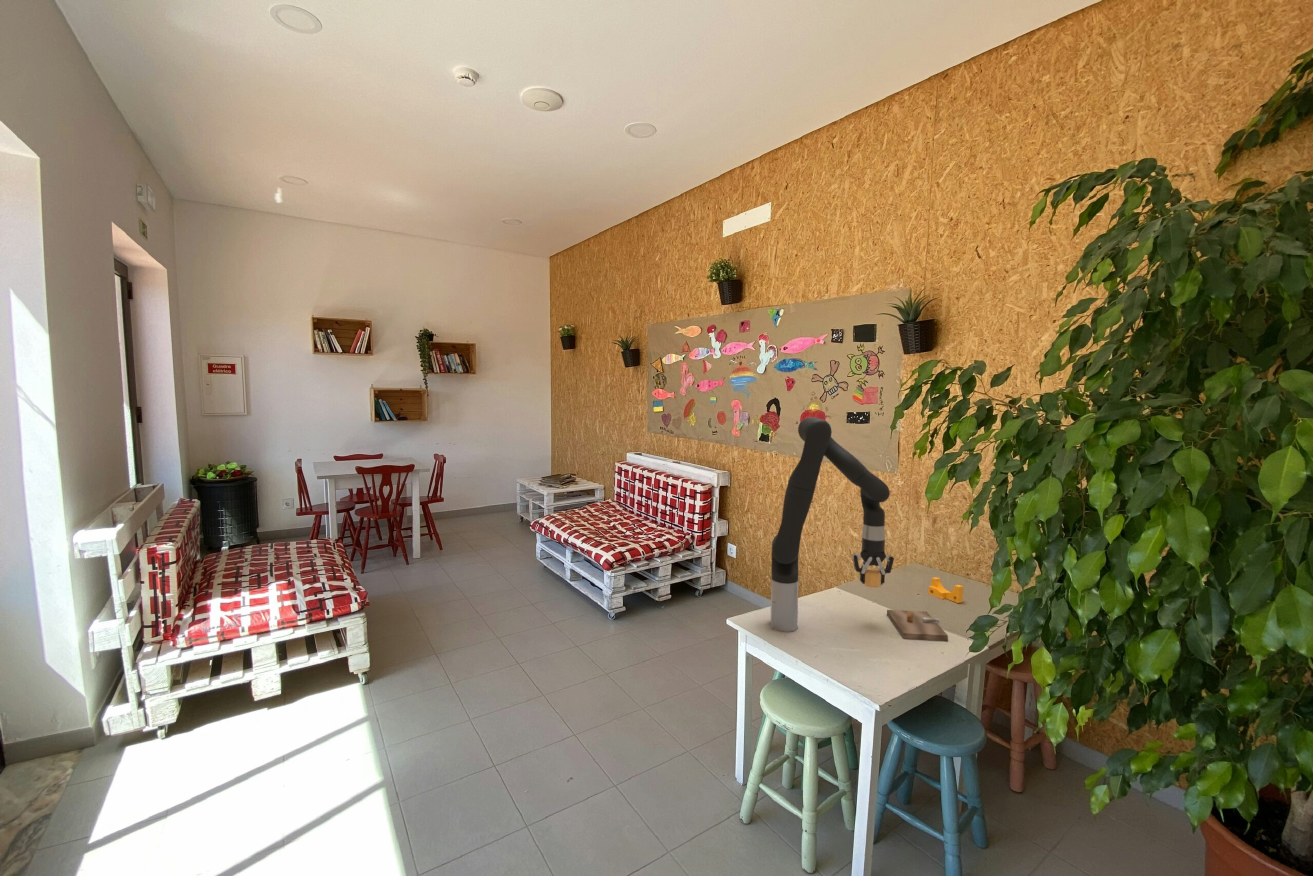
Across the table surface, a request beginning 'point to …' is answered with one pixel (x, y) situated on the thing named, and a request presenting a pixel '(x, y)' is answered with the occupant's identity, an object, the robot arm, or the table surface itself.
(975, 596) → the table surface
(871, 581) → the orange rounded block
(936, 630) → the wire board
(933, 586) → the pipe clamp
